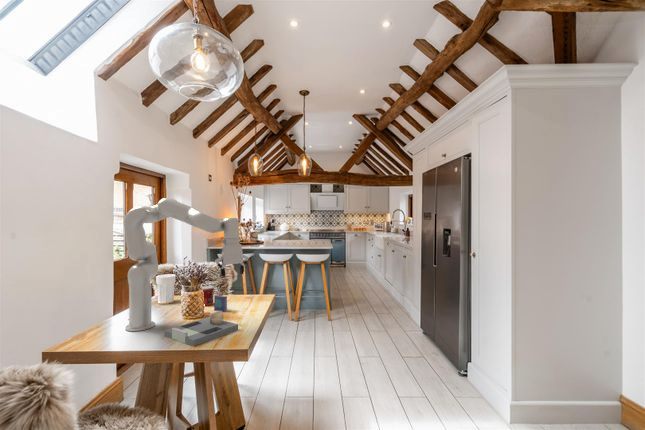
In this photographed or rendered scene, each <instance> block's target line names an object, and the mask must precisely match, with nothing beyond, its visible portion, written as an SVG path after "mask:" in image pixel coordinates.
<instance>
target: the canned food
mask: <svg viewBox="0 0 645 430" xmlns="http://www.w3.org/2000/svg"><path fill="white" fill-rule="evenodd" d="M201 287H202V289H203V291H204V304H205V306H204V307H210V306H214V286H212V285H204V286H201Z"/></svg>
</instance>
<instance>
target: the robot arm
mask: <svg viewBox="0 0 645 430" xmlns="http://www.w3.org/2000/svg"><path fill="white" fill-rule="evenodd" d="M168 218H172V219H175V220H178V221H179V222H182V223H186V224H187V225H190V226H192V227H194V228H197V229H200V230H202V231H204V232H207V233H211V234H214V233H222V232H223V239H222V240H221V241H220V242H221V243H222V244H223V245H222V248H221V249H222V250H221V256H220V257H218V258H216V259H215V260H214V262H215V264H216V266H217V267H218V268H219V269H220V276H221V277H223V278H224V277H226V269H225V267H226V266H229V265H230V266H231V265H237V264H239V265H240V266H239V274H240V275H244V273H245V266H246V264H247V263H248V260H249V256H246V255H244V254H243V253H244V252H243V247H242V244H241V243H240V227H239V226H240V225H239V224H240V222H239V218H237V217H225V218H219V217H213V216H210V215H207V214H205V213H203V212H200V211H198V210H197V209H195V208H194V207H192V206H190V205H187V204H185V203H182V202H180V201H178V200H176V199H174V198H169V197H165V198H161V199H160V200H159V201H158V203H157V204H155V205H152V206H147V205H139V206H136V207H133V208H131V209H130V210H128V212H126V214H125V216H124V219H123V228H124V233H125V242H126V250H127V251H126V252H127V256H128V258H129V259H130V260H132V261H135V262H138V263H135V264H134V265H132V266H130V268H129V269H128V272H127V283H128V290H129V291H128V292H129V296H128V297H129V301H128V304H129V313H128V315H129V316H128V321H129V322H128V324H127V325H126V326H125V330H126V331H127V332H140V331H146V330H149V329H151V328H153V327H155V325H156V322H155V321H153V320H152V300H153V299H152V284H151V279H153V278H156V276H158V272H159V262H158V254H157V249H156V245H155V244H154V243H153V242H152V241H150V240H147V238H146V231H145V228H144V224H153V223H157V222H160V221H162V220H165V219H168ZM220 261H221V263H220Z"/></svg>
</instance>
